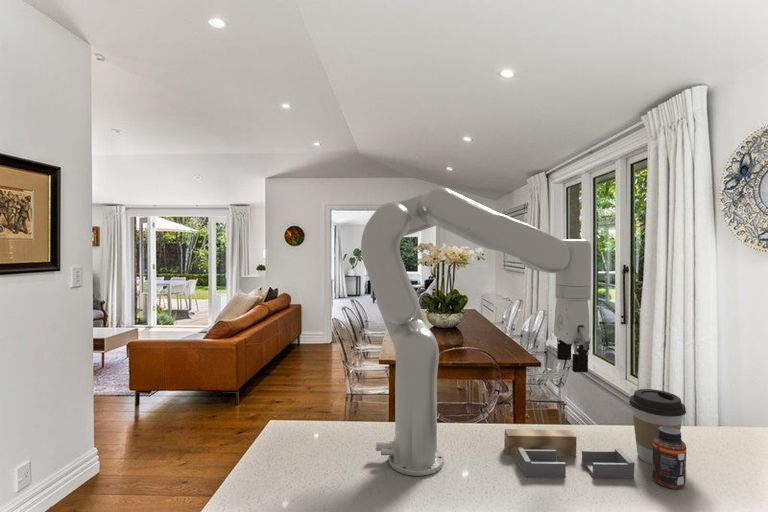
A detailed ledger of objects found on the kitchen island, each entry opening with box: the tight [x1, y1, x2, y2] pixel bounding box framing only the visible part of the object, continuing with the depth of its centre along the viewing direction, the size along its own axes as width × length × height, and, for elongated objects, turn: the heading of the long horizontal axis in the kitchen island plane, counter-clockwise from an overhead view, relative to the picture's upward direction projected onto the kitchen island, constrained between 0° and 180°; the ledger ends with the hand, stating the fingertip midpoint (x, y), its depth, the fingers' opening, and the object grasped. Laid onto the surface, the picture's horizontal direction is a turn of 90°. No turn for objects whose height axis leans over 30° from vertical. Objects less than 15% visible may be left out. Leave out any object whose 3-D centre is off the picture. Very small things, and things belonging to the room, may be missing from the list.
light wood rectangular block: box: [503, 428, 577, 457], centre depth 107 cm, size 16×4×5 cm, turn 88°
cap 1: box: [517, 448, 567, 478], centre depth 99 cm, size 9×6×3 cm
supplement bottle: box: [651, 426, 687, 490], centre depth 93 cm, size 6×6×11 cm
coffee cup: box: [628, 388, 687, 465], centre depth 103 cm, size 11×11×15 cm
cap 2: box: [581, 448, 636, 479], centre depth 98 cm, size 9×6×3 cm
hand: (571, 365), depth 103 cm, fingers open, 9 cm apart
